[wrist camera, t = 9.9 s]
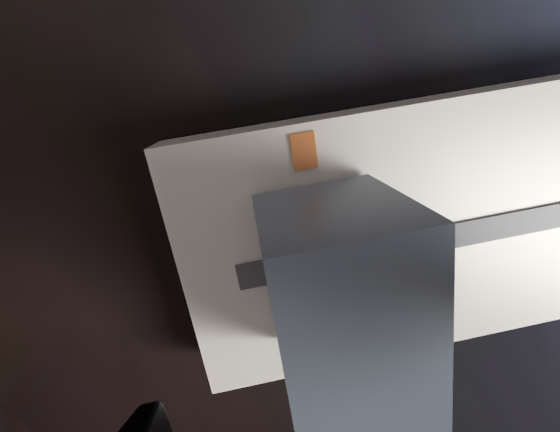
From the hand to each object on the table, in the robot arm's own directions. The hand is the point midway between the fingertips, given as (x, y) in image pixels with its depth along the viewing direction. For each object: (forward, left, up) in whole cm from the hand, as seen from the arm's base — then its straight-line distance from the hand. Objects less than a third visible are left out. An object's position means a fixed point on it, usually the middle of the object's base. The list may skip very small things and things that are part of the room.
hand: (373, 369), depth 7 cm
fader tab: (0, 0, -6) cm, 6 cm away
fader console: (0, -8, -8) cm, 11 cm away
